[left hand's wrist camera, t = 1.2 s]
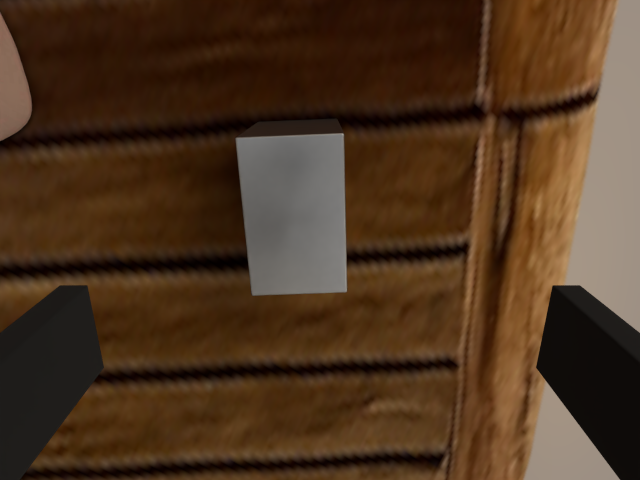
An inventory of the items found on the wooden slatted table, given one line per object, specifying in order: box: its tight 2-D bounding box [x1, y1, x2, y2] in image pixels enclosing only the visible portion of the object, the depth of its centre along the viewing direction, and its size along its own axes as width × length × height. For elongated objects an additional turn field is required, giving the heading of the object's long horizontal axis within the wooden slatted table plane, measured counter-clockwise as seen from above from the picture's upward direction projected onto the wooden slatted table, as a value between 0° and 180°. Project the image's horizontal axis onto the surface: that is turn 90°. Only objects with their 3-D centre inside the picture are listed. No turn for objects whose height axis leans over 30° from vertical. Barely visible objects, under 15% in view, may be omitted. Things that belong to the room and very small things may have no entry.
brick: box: [235, 119, 347, 296], centre depth 23 cm, size 8×5×7 cm, turn 2°
